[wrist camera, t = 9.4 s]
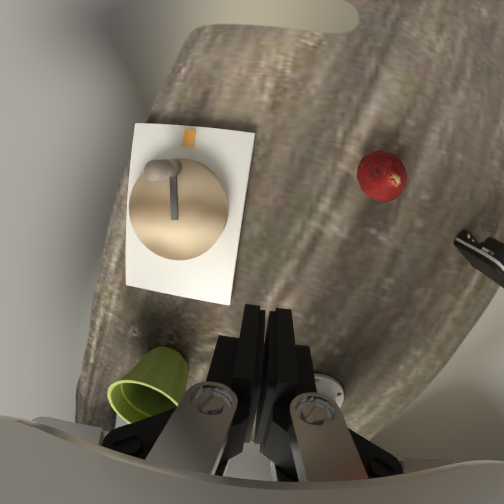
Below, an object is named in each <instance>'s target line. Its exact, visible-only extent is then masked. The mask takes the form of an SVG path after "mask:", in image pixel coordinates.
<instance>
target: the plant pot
mask: <svg viewBox="0 0 504 504" xmlns="http://www.w3.org/2000/svg"><path fill="white" fill-rule="evenodd" d="M187 376H188V363H187V361H186V360H185V359H184V358H183V357H182V355H181V354H180V353H179V352H177V351H175V350H173V349H171V348H168V347H156V348H154V349H151V350H150V351H149V352H148V353H147V354H146V355H145V356H144V357H143V358H142V360H141V361H140V362H139V363H138V364H137V365H136V366H135V367H134V368H133V369H132V370H131V371H130V372H129V373H128V374H127V375H125V376H124V377H123V378H122V379H121V380H118V381H115V382H114V383H112V384H111V385H110V387H109V389H108V399H109V402H110V404H111V406H112V408H113V409H114V410H115V412H116V413H117V414H118V415H119V416H120V417H121V418H122V419H124V420H125V421H126V422H127V423H129V424H131V423H134V422H136V421H139V420H142V419H145V418H148V417H151V416H153V415H156V414H159V413H162V412H164V411H167V410H169V409H172V408H175V407H177V406H178V404H179V402H180V401H181V399H182V397H183V395H184V394H185V392H186V384H187Z"/></svg>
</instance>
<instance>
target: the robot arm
mask: <svg viewBox="0 0 504 504" xmlns="http://www.w3.org/2000/svg"><path fill="white" fill-rule="evenodd" d="M264 332H265V310H260V306H257V305H250V304H245V309H244V314H243V320H242V326H241V332H240V337H239V338H235V337H228V336H221V335H219V337H218V340H217V344H216V347H215V351H214V355H213V358H212V362H211V365H210V369H209V372H208V376H207V380H206V382H201V383H197V384H195V385H193V386H191V387H190V388H189V389H188V390H187V391H186V392H185V394H184V395H183V397H182V399H181V401H180V402H179V404H178V406H177V407H175V408H172V409H169V410H167V411H164V412H162V413H159V414H156V415H153V416H151V417H148V418H145V419H142V420H139V421H136V422H134V423H131V424H128V425H125V426H122V427H118V428H116V429H114V430H112V431H110V432H106V431H103V429H102V428H101V427H94V426H88V425H83V424H77V423H72V422H68V421H63V420H58V419H54V418H50V417H38V418H35V419H34V420H32V421H31V420H27V419H23V418H16V417H10V416H0V504H504V462H502V461H491V460H480V461H468V462H460V461H458V460H456V459H451V458H449V459H448V458H447V459H425V458H403V459H402V460H401V461H399V460H397V458H395V457H394V456H393V455H392V454H390V453H388V452H386V451H385V450H383V449H381V448H380V447H378V446H376V445H375V444H373V443H371V442H370V441H368V440H367V439H365V438H363V437H362V436H360V435H359V434H357V433H355V432H354V431H352V430H351V429H349V428H348V427H347V424H346V422H345V420H344V417H343V415H342V412H341V410H340V407H341V406H342V404H343V401H344V393H343V389H342V386H341V385H340V383H339V382H338V381H337V380H335V379H334V378H332V377H330V376H327V375H324V374H317V373H314V370H313V364H312V358H311V353H310V348H309V346H304V345H295V338H294V329H293V320H292V311H291V310H290V309H282V308H276V310H275V312H274V311H270V313H269V319H268V325H267V331H266V337H265V342H264ZM256 409H257V413H256ZM255 414H256V426H255V440H254V443H255V444H260V453H263V454H264V455H265V456H266V457H267V458H268V459H269V460H271V472H272V477H273V481H260V480H249V479H240V478H231V477H224V476H225V473H226V470H227V468H228V465H229V459H230V458H232V457H234V456H236V455H237V454H239V453H241V452H242V450H243V444H244V442H245V443H249V442H250V437H251V433H252V428H253V423H254V419H255Z"/></svg>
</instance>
